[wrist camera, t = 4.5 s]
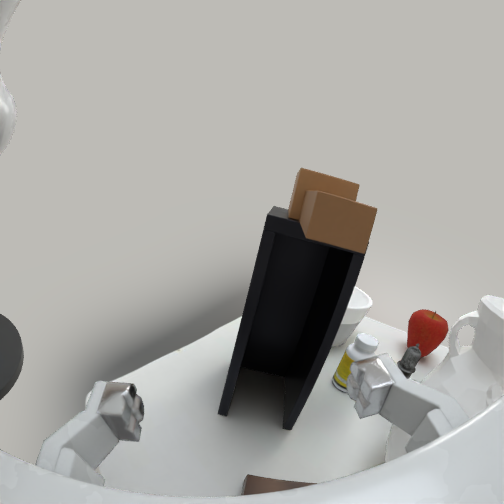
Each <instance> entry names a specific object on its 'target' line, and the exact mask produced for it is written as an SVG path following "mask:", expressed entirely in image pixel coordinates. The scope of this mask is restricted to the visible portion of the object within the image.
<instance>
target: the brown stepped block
mask: <svg viewBox="0 0 504 504" xmlns="http://www.w3.org/2000/svg"><path fill="white" fill-rule="evenodd" d="M358 189H359V184H356V183H352V182H349V181H346V180H342V179H339V178H336V177H333V176H329V175H326V174H322V173H318V172H315V171H311V170H308V169H304V168H301V169H300V170H299V172H298V173H297V176H296V180H295V185H294V189H293V193H292V197H291V201H290V205H289V209H288V215H289V218H292V219H295V220H299V222H300V224H301V227H302V229H303V232H304V234H305V237H306V238H308V239H312V240H315V241H319V242H323V243H327V244H330V245H334V246H338V247H341V248H345V249H349V250H352V251H356V252H359V253H363V254H365V251H366V248H367V245H368V241H369V238H370V235H371V231H372V227H373V224H374V220H375V216H376V212H377V208H375V207H372V206H368V205H365V204H362V203H359V202H356V197H357V193H358Z"/></svg>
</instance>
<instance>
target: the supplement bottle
mask: <svg viewBox="0 0 504 504" xmlns="http://www.w3.org/2000/svg"><path fill="white" fill-rule="evenodd" d="M378 344H379V342H378V340H377V339H376V338H375V337H373V336H371V335H369V334H366V333H359V334H358V335H357V337H356V339H355V342H354V343H353V344H350V345H349V346H348V347H347V349H346V351H345V353H344V355H343V357H342V360H341V362H340V364H339V366H338V368H337V370H336V372H335V374H334V376H333V379H332V381H333V384H334V385H335V386H336V387H337V388H338V389H340V390H341V391H344V392H347V386H346V381H347V377H348V376H349V375H350V373H351V371H350V365H351V363H352V362H353V361H357V360H361V359H365V358H369V357H373V356H376V355H375V353H374V352H375V350H376V349H377V346H378Z"/></svg>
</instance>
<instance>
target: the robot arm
mask: <svg viewBox="0 0 504 504" xmlns="http://www.w3.org/2000/svg"><path fill="white" fill-rule="evenodd" d="M20 1H21V0H0V49H1V44H2V41H3V38H4V35H5V32H6V29H7V27H8V25H9V23H10V20H11V18H12V16H13V14H14V12H15V10H16V8H17V6H18V5H19V3H20ZM16 117H17V111H16V105H15V101H14V98H13V96H12V94H11V93H10V92H9V91H8V89H7V88H6V86H5V84H4V82H3V80H2V77H1V73H0V155H1V153H2V152H3V151H4V150H5V148H6V147H7V145H8V144H9V142H10V140H11V138H12V135H13V133H14V129H15V125H16ZM350 371H351V373H350V375H349V376H348V377H347V381H346V386H347V392H348V395H349V397H350V398H351V399H352V400H354V401H356V402H355V405H354V407H355V409H356V411H357V414H358V416H359V418H360V419H361V418H365V417H368V416H372V415H375V414H378V413H379V414H380V415H381V416H382V417H384V418H385V419H387V420H388V421H390V422H391V423H393V424H394V425H396V426H397V427H399V428H400V429H402V430H403V431H405V432H406V433H408V434H409V435H411V438H410V439H409V441H408V442H407V443H406V445H405V447H404V448H405V450H406V452H407V454H404V455H402V456H400V457H398V458H395V459H393V460H390V461H388V462H385V463H383V464H380V465H378V466H375V467H372V468H369V469H366V470H364V471H361V472H358V473H355V474H351V475H348V476H345V477H341V478H338V479H334V480H331V481H327V482H323V483H319V484H314V485H310V486H305V487H300V488H295V489H290V490H284V491H277V492H270V493H262V494H253V495H242V496H225V497H183V496H167V495H156V494H147V493H139V492H132V491H126V490H120V489H115V488H110V487H105V486H104V483H105V479H104V478H103V477H102V476H101V475H100V474H99V473H98V472H96V471H95V469H96V468H97V467H98V465H99V464H100V463H101V462H102V461H103V460H104V459H105V458H106V456H107V455H108V454H109V453H110V452H111V451H112V449H113V448H114V447H115V446H116V445H117V444H118V443H119V440H124V441H136V442H139V440H140V434H141V429H142V428H141V427H140V425H139V423H140V422H141V421H142V420H143V417H144V405H143V401H142V399H141V397H140V396H138V395H137V394H136V391H137V389H136V387H135V385H134V384H131V383H118V382H104V381H97V382H96V383H95V385H94V387H93V390H92V393H91V395H90V398H89V400H88V403H87V406H86V409H85V411H81V412H80V413H78V414H77V415H76V416H75V417H73V418H72V419H71V420H69V421H68V422H67V423H66V424H64V425H63V426H62V427H61V428H59V429H58V430H57V431H55V432H54V433H53V434H52V435H50V436H49V437H48V438H46V439H45V440H44V442H43V444H42V447H41V450H40V453H39V455H38V458H37V461H36V465H34V464H31V463H29V462H26V461H24V460H22V459H20V458H17V457H15V456H13V455H11V454H9V453H7V452H4V451H3V450H1V449H0V504H504V395H502V396H501V397H500V398H499V399H497V400H496V401H495V402H493V403H492V404H491V405H489V406H488V407H487V408H485V409H484V410H482V411H481V412H479V413H478V414H476V415H475V416H474V417H472V418H469V417H468V415H467V414H466V413H465V411H464V410H463V408H462V407H461V406H460V404H459V403H458V402H457V400H456V399H455V398H454V397H451V396H449V395H447V394H444V393H442V392H440V391H437V390H435V389H433V388H431V387H428V386H426V385H424V384H422V383H419V382H417V381H415V380H413V379H411V378H409V379H406V377H405V376H404V374H403V373H402V372H401V370H400V369H399V367H398V366H397V365H396V363H395V362H394V360H393V359H392V358H391V356H390V355H389V354H388V353H384V354H381V355H377V356H373V357H369V358H365V359H361V360H357V361H353V362H352V363H351V365H350Z"/></svg>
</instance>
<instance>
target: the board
mask: <svg viewBox="0 0 504 504" xmlns="http://www.w3.org/2000/svg"><path fill="white" fill-rule="evenodd" d="M314 484H318V483H304V482H294V481H285V480H277V479H271V478H264V477H258V476H253V475H247V476H246V478H245V480H244V485H243V490H242V495H253V494H262V493H270V492H277V491H284V490H290V489H295V488H300V487H305V486H310V485H314ZM242 495H241V496H242Z"/></svg>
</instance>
